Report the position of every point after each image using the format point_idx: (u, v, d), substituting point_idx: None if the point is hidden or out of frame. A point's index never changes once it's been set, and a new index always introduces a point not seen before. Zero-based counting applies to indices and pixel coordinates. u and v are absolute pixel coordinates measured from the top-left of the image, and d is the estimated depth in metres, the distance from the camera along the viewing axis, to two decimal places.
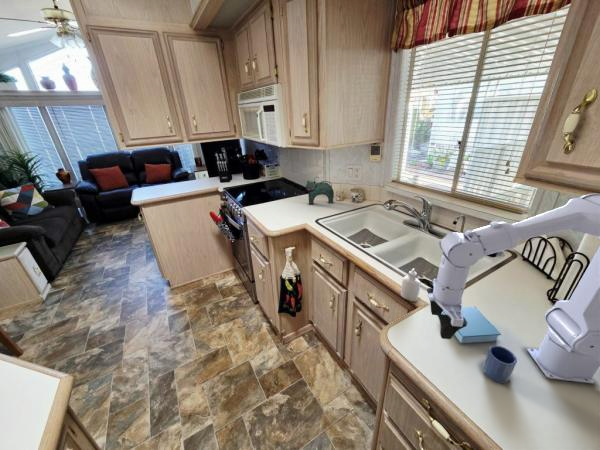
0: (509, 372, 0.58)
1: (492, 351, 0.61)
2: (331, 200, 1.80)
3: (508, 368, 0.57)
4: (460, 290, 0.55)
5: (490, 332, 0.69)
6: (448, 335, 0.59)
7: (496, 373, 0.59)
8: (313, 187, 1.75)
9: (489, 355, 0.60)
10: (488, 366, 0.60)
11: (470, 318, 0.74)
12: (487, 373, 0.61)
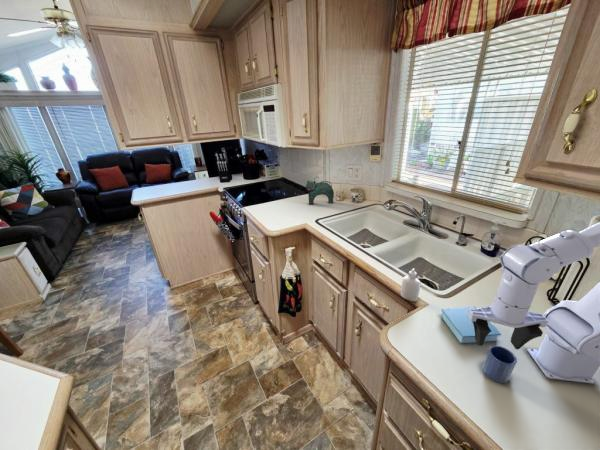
0: (509, 372, 0.58)
1: (492, 351, 0.61)
2: (331, 200, 1.80)
3: (508, 368, 0.57)
4: (502, 302, 0.52)
5: (490, 332, 0.69)
6: (477, 339, 0.59)
7: (496, 373, 0.59)
8: (313, 187, 1.75)
9: (489, 355, 0.60)
10: (488, 366, 0.60)
11: None
12: (487, 373, 0.61)
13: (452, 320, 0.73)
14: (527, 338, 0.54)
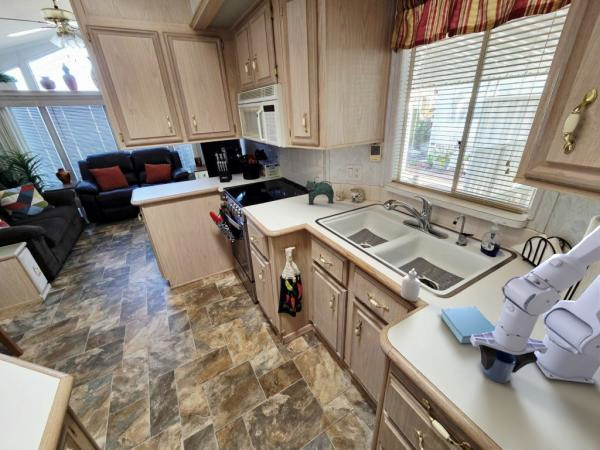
0: (509, 372, 0.58)
1: None
2: (331, 200, 1.80)
3: (508, 368, 0.57)
4: (503, 330, 0.55)
5: None
6: (483, 363, 0.61)
7: (496, 373, 0.59)
8: (313, 187, 1.75)
9: None
10: None
11: (470, 318, 0.74)
12: (487, 373, 0.61)
13: (452, 320, 0.73)
14: (523, 363, 0.56)
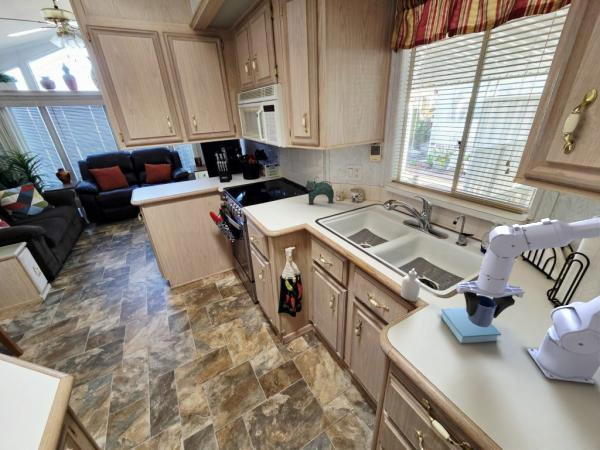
0: (490, 316, 0.64)
1: None
2: (331, 200, 1.80)
3: (489, 312, 0.63)
4: (485, 276, 0.61)
5: (490, 332, 0.69)
6: (468, 310, 0.67)
7: (479, 318, 0.65)
8: (313, 187, 1.75)
9: None
10: None
11: None
12: (471, 320, 0.67)
13: (452, 320, 0.73)
14: (502, 307, 0.63)
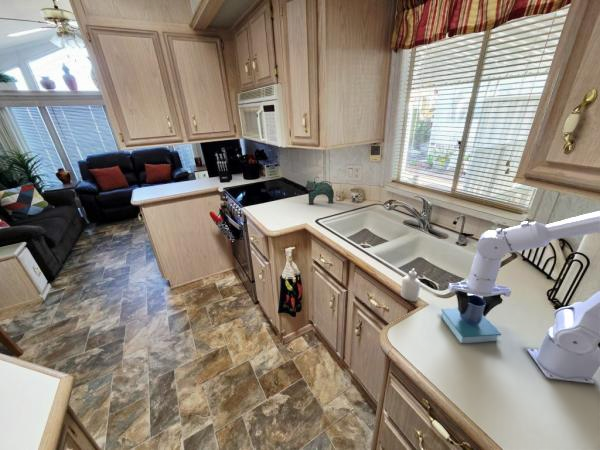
0: (480, 314, 0.68)
1: None
2: (331, 200, 1.80)
3: (479, 310, 0.68)
4: (474, 276, 0.65)
5: (490, 332, 0.69)
6: (460, 309, 0.71)
7: (469, 316, 0.70)
8: (313, 187, 1.75)
9: None
10: None
11: None
12: (463, 317, 0.72)
13: (452, 320, 0.73)
14: (491, 305, 0.67)
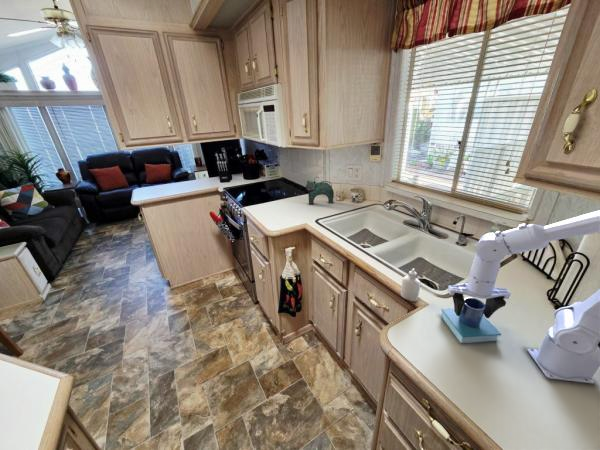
0: (479, 317, 0.69)
1: (466, 302, 0.73)
2: (331, 200, 1.80)
3: (478, 313, 0.68)
4: (473, 278, 0.66)
5: (490, 332, 0.69)
6: (456, 310, 0.72)
7: (469, 319, 0.70)
8: (313, 187, 1.75)
9: None
10: (462, 314, 0.72)
11: None
12: (462, 320, 0.72)
13: (452, 320, 0.73)
14: (494, 308, 0.68)
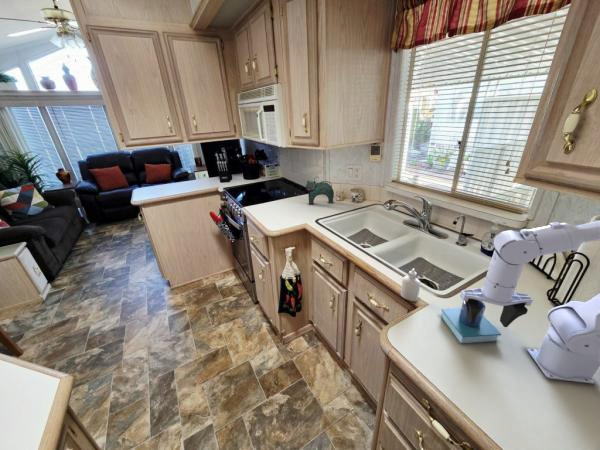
0: (479, 317, 0.69)
1: None
2: (331, 200, 1.80)
3: (478, 313, 0.68)
4: (491, 283, 0.58)
5: (490, 332, 0.69)
6: (469, 318, 0.64)
7: None
8: (313, 187, 1.75)
9: (463, 304, 0.71)
10: (462, 314, 0.72)
11: None
12: (462, 320, 0.72)
13: (452, 320, 0.73)
14: (514, 316, 0.60)
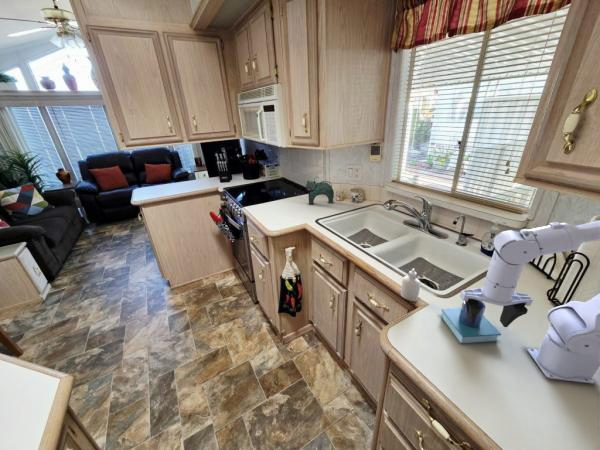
0: (479, 317, 0.69)
1: None
2: (331, 200, 1.80)
3: (478, 313, 0.68)
4: (491, 283, 0.58)
5: (490, 332, 0.69)
6: (469, 318, 0.64)
7: None
8: (313, 187, 1.75)
9: (463, 304, 0.71)
10: (462, 314, 0.72)
11: None
12: (462, 320, 0.72)
13: (452, 320, 0.73)
14: (514, 316, 0.60)
